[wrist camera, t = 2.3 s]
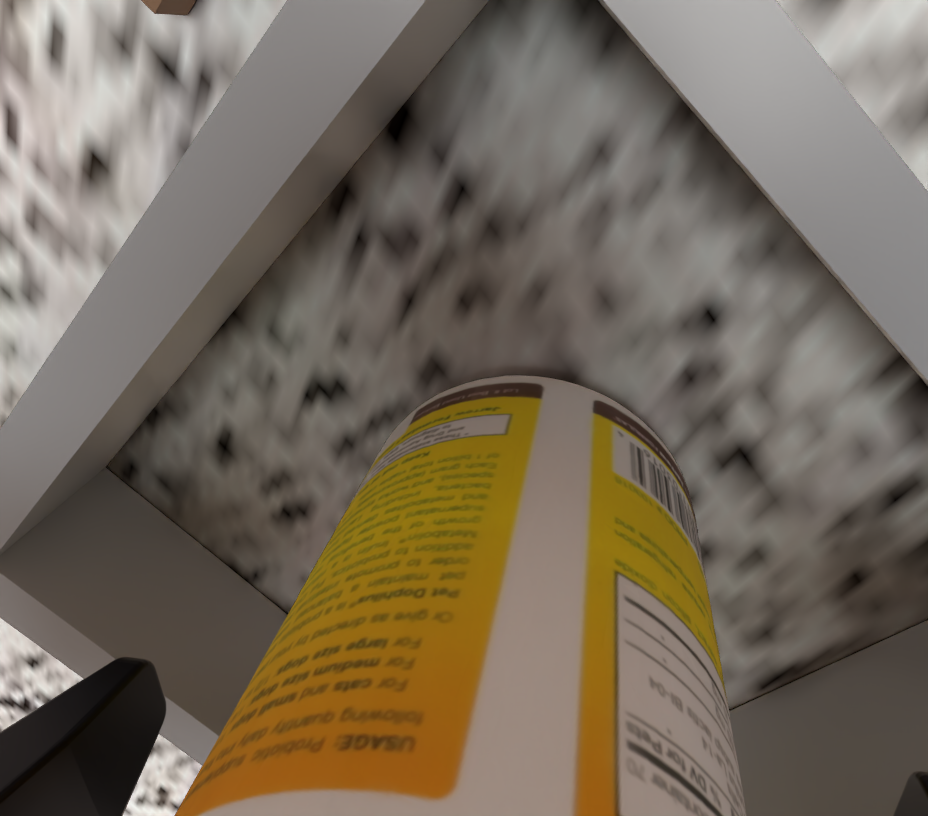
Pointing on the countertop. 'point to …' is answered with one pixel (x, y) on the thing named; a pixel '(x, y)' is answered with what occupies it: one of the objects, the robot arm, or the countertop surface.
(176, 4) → the walnut board
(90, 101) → the countertop surface
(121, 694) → the robot arm
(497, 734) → the supplement bottle
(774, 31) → the grey square frame
